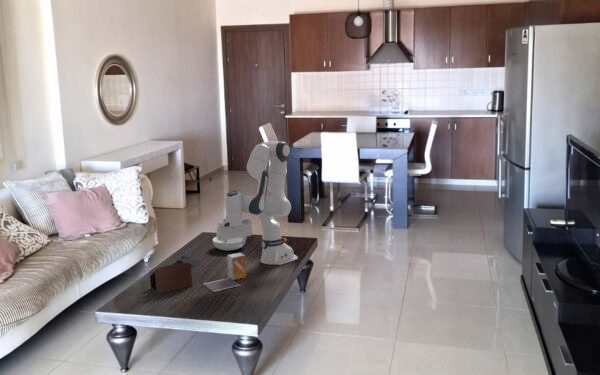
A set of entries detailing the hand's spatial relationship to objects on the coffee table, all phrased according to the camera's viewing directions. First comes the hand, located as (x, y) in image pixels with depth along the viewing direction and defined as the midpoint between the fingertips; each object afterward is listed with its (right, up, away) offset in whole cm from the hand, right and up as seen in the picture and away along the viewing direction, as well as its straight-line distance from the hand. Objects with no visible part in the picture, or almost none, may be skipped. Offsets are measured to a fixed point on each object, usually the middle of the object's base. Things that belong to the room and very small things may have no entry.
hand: (235, 245), depth 320 cm
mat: (-6, -20, -7) cm, 23 cm away
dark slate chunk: (-33, -15, +24) cm, 44 cm away
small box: (+1, -18, +4) cm, 19 cm away
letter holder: (-33, -22, -8) cm, 40 cm away
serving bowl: (-10, -8, +57) cm, 58 cm away
